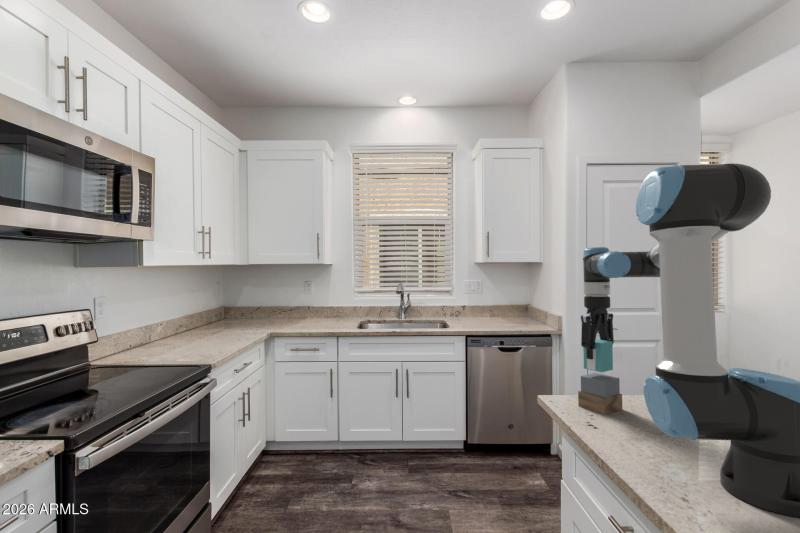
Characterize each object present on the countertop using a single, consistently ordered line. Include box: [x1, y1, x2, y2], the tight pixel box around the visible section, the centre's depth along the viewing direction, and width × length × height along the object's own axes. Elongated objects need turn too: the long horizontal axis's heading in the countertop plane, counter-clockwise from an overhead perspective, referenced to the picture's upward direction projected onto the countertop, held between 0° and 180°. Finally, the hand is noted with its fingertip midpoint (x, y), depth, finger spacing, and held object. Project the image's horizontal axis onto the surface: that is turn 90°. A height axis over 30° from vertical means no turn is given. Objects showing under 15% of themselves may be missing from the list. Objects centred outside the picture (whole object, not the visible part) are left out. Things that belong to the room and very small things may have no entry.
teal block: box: [583, 338, 614, 373], centre depth 126 cm, size 6×6×9 cm
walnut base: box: [577, 390, 623, 415], centre depth 125 cm, size 9×9×5 cm
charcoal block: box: [580, 372, 621, 398], centre depth 125 cm, size 8×8×5 cm
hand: (598, 367), depth 126 cm, fingers closed on teal block, 6 cm apart
